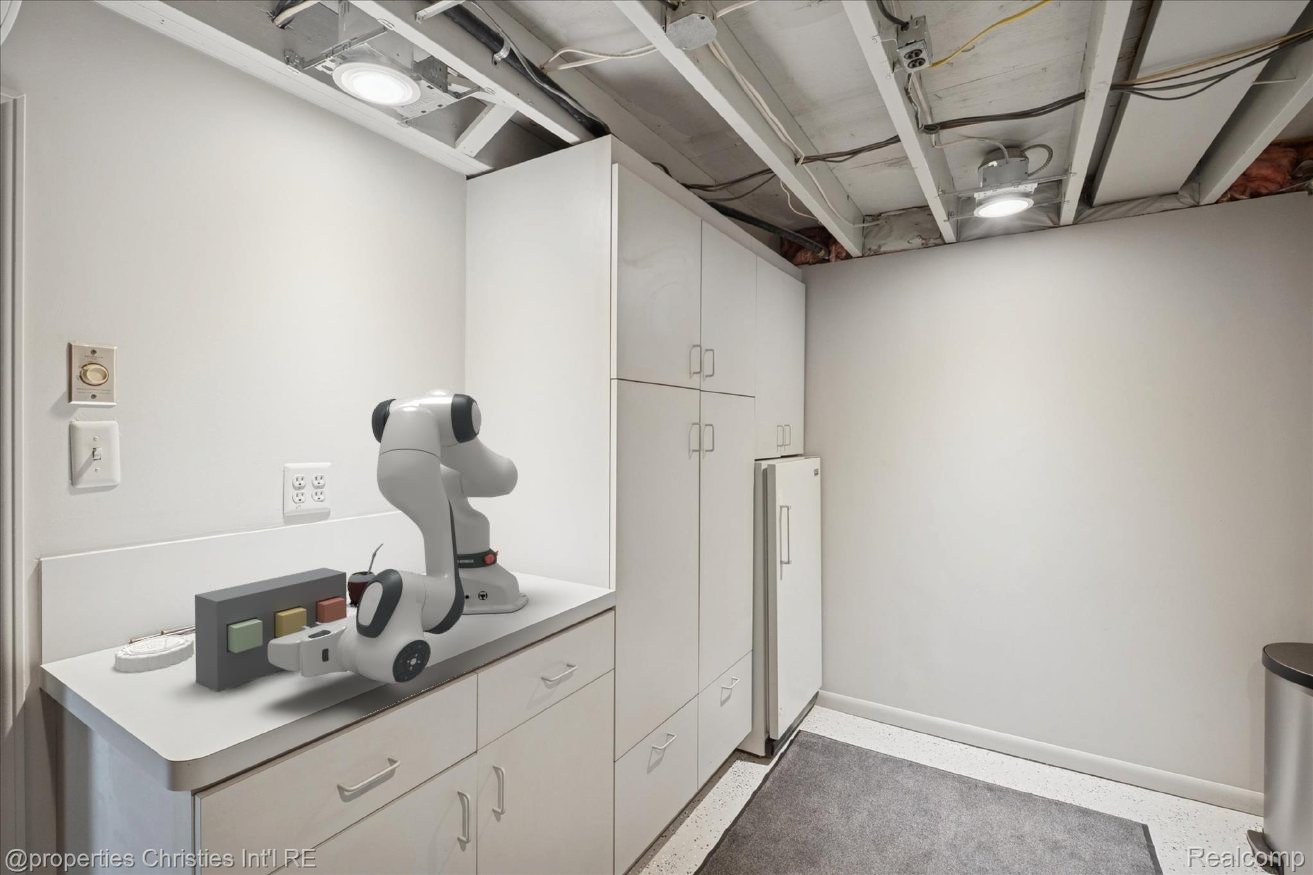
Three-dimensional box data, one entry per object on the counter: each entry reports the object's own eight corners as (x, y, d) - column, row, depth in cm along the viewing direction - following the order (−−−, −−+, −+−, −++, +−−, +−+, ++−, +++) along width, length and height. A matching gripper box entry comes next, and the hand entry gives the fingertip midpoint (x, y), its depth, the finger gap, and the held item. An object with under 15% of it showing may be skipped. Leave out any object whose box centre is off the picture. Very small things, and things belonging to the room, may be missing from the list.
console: (346, 647, 126) (346, 572, 126) (217, 691, 106) (216, 601, 105) (324, 640, 130) (324, 567, 130) (195, 681, 110) (194, 594, 109)
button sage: (262, 645, 110) (262, 621, 109) (235, 652, 106) (235, 628, 106) (253, 641, 111) (253, 618, 111) (227, 649, 107) (227, 625, 107)
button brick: (345, 620, 123) (345, 599, 123) (324, 626, 120) (324, 604, 119) (336, 617, 125) (336, 596, 125) (316, 623, 121) (315, 602, 121)
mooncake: (118, 658, 120) (117, 641, 120) (193, 645, 128) (193, 628, 128) (112, 679, 111) (111, 660, 111) (193, 663, 118) (193, 645, 118)
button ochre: (306, 631, 116) (306, 609, 116) (283, 638, 113) (282, 615, 113) (297, 629, 118) (297, 606, 118) (274, 635, 114) (274, 613, 114)
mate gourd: (343, 608, 153) (342, 550, 152) (354, 599, 161) (354, 543, 160) (373, 607, 154) (373, 549, 153) (383, 598, 162) (383, 543, 161)
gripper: (404, 609, 114) (359, 597, 121) (295, 643, 97) (250, 627, 104) (404, 641, 115) (360, 628, 122) (295, 681, 97) (250, 663, 104)
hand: (308, 628), depth 112 cm, fingers closed
